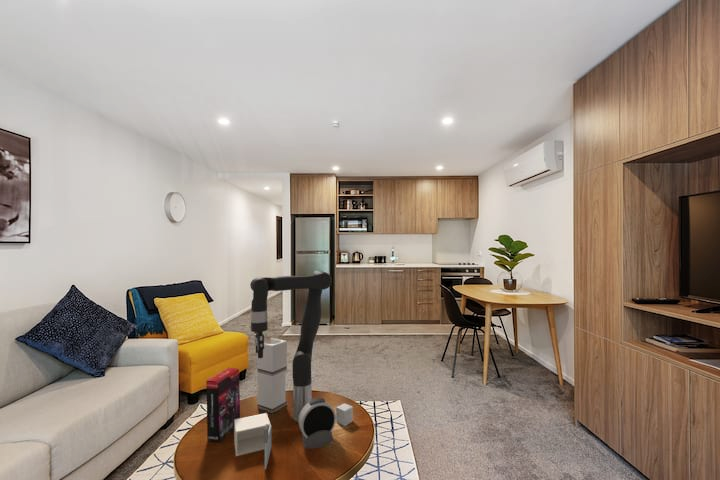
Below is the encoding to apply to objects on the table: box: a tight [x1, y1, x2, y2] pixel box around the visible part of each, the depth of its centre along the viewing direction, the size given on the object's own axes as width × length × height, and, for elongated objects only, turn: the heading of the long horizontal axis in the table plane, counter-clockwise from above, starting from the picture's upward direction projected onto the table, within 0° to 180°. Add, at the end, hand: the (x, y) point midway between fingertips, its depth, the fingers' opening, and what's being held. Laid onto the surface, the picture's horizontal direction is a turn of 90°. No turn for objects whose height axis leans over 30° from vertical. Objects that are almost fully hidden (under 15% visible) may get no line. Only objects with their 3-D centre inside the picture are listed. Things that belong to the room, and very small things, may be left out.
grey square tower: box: [256, 337, 288, 414], centre depth 180 cm, size 11×11×35 cm
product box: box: [335, 403, 354, 427], centre depth 163 cm, size 6×6×7 cm
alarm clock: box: [297, 397, 337, 450], centre depth 147 cm, size 16×10×18 cm, turn 115°
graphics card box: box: [205, 367, 241, 443], centre depth 155 cm, size 17×7×27 cm, turn 168°
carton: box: [233, 412, 271, 457], centre depth 144 cm, size 14×11×10 cm
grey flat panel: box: [264, 424, 272, 470], centre depth 135 cm, size 14×1×15 cm, turn 7°
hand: (259, 355), depth 154 cm, fingers open, 8 cm apart
